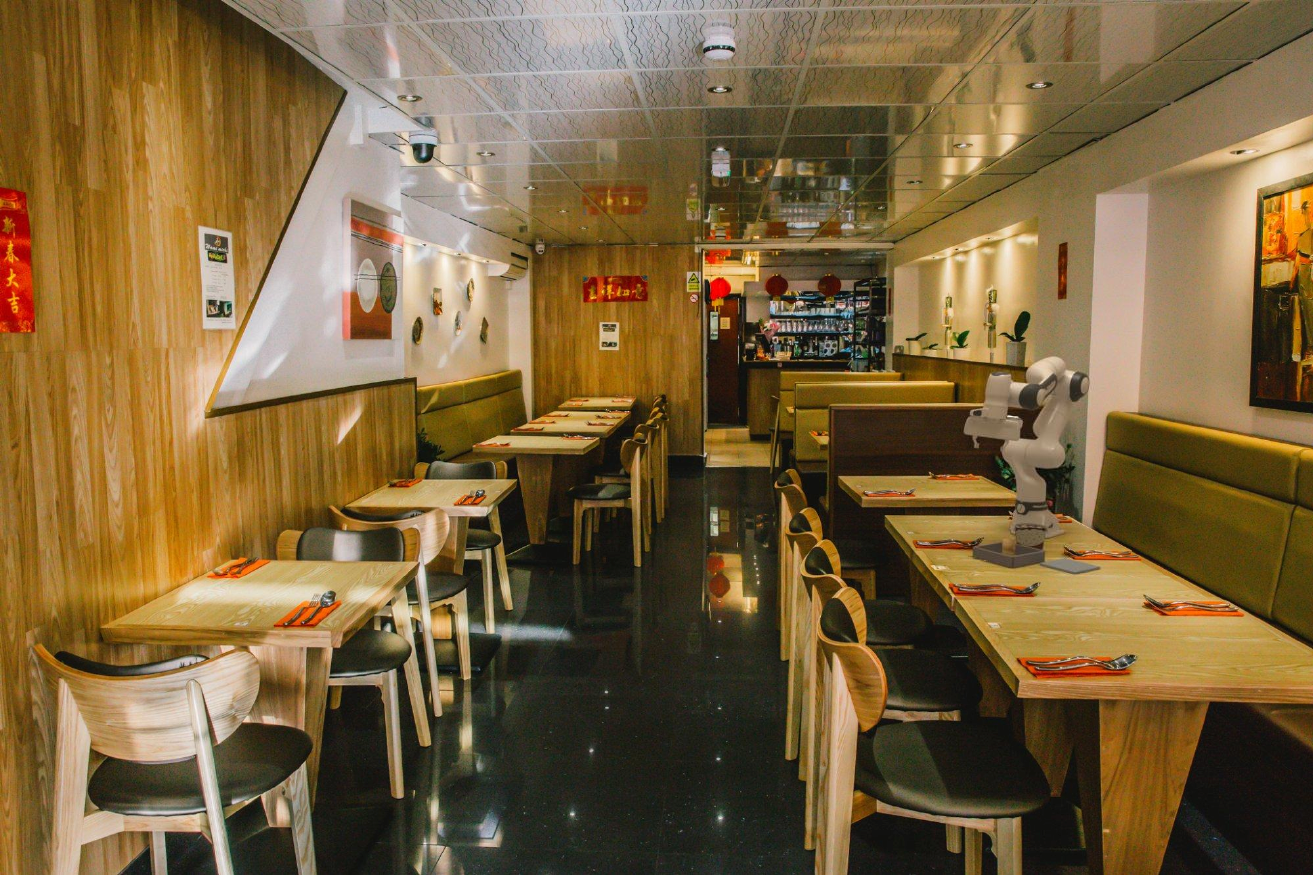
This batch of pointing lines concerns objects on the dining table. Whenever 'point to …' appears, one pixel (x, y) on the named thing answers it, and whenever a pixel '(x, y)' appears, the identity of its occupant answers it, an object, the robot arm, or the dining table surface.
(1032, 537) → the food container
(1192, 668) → the dining table surface
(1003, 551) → the peg
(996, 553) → the frame
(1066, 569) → the mat
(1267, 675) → the dining table surface
